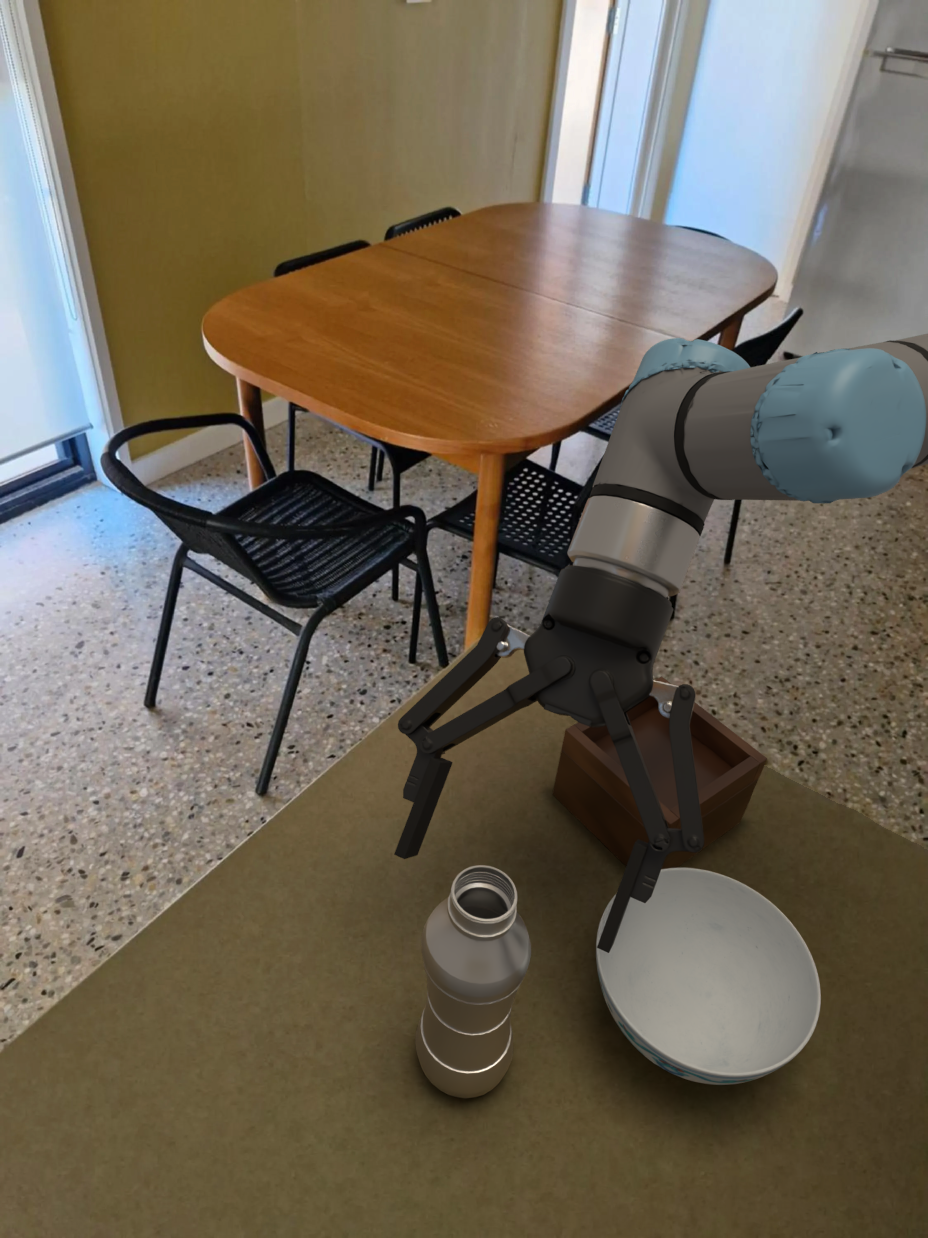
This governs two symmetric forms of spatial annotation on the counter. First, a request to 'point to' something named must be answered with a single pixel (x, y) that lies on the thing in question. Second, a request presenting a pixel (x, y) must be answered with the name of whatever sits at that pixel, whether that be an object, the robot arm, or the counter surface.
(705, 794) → the walnut box
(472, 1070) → the metal bottle
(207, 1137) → the counter surface
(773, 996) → the chinaware
